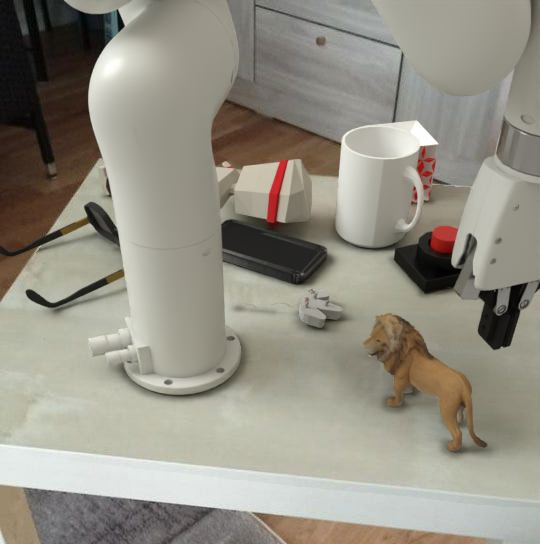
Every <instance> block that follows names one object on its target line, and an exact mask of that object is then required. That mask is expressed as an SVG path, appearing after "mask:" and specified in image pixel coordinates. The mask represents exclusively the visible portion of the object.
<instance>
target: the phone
mask: <svg viewBox="0 0 540 544" xmlns="http://www.w3.org/2000/svg"><path fill="white" fill-rule="evenodd" d="M221 232H222V256H223V262H227V263H231V264H233V265H236V266H240V267H243V268H245V269H248V270H251V271H252V270H253V271H254V272H257V273H261V274H264V275H267V276H270V277H272V278H277V279H280V280H283V281H286V282H289V283H292V284H298V285H299V284H303V283H305V282H307V280H308V279H309V278H310V277H311V276H312V275H313V274H314V273H315V272H316V271H317V270H318V269H319V268H320V267H321V266H322V265H323V264H324V263H325V262H326V261H327V258H328V248H327V247H326V246H324V245H322V244H318V243H315V242H312V241H309V240H305V239H302V238H298V237H294V236H292V235H288V234H284V233H282V232H278V231H275V230H273V229H268V228H266V227H265V228H264V227H261V226H258V225H255V224H251V223H248V222H246V221H241V220H238V219H234V218H231V219H230V218H229V219H226V220H224V221H222V222H221Z"/></svg>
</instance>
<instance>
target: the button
mask: <svg viewBox="0 0 540 544" xmlns="http://www.w3.org/2000/svg"><path fill="white" fill-rule="evenodd" d="M458 229H459V227H458V228H457V227H455V226H451V225H440V226H439V225H438V226H436V227H435V228H433V230H432V231H433V233H432V238H431V243H430V246H431V248H432V249H433V250H436V251H438V252H441V253H453V248H454V244H455V240H456V236H457V232H458Z"/></svg>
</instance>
